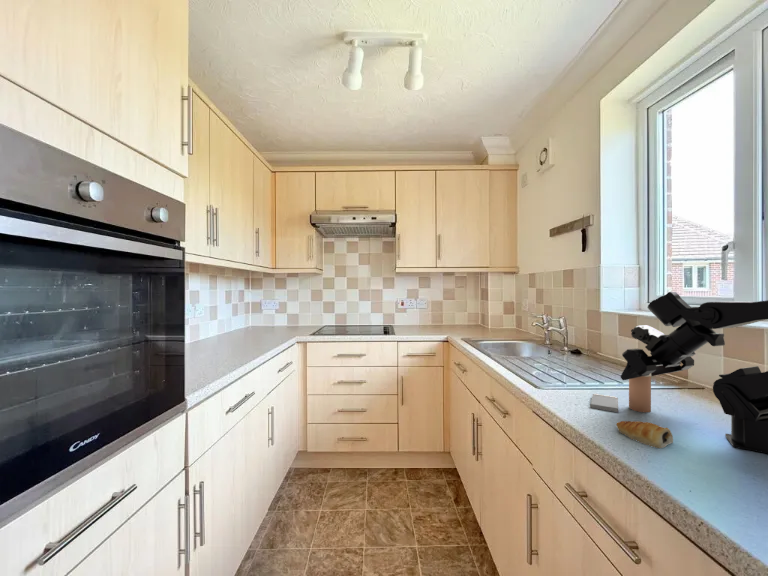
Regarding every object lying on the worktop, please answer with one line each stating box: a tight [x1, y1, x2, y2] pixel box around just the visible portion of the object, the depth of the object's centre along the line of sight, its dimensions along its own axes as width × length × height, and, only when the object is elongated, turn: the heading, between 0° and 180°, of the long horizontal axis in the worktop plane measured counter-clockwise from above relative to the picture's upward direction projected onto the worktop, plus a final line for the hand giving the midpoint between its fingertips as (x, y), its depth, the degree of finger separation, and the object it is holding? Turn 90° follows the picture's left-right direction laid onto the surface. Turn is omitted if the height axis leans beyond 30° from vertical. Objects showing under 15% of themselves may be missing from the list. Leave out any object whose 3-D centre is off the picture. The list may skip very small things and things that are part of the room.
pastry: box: [616, 420, 674, 449], centre depth 72 cm, size 9×7×4 cm
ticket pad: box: [590, 393, 619, 413], centre depth 92 cm, size 10×6×1 cm, turn 146°
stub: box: [628, 373, 652, 414], centre depth 89 cm, size 5×5×12 cm
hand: (634, 377), depth 90 cm, fingers open, 9 cm apart
